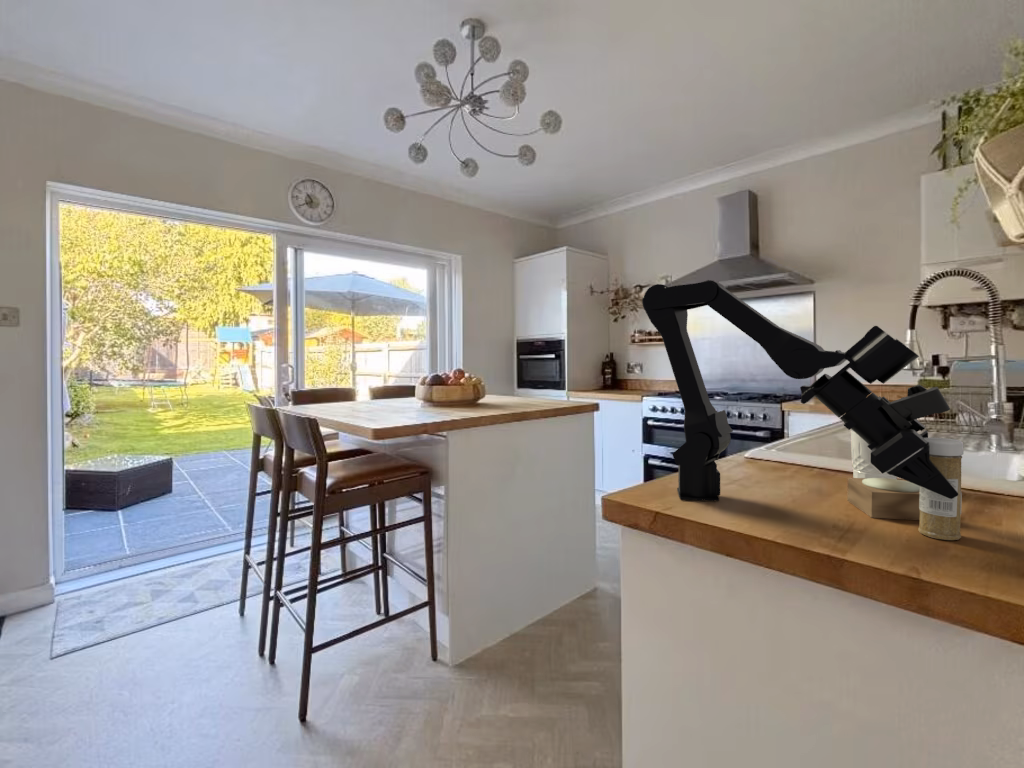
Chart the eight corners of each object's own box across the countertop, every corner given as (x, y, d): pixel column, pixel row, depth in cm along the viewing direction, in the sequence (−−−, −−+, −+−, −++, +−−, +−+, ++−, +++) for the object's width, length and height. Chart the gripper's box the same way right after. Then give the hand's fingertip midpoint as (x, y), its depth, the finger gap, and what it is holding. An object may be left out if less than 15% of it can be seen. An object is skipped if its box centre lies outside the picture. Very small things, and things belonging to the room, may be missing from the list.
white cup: (850, 476, 100) (850, 427, 100) (899, 481, 96) (900, 430, 95) (849, 484, 94) (850, 433, 93) (901, 490, 89) (902, 436, 89)
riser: (871, 517, 75) (871, 490, 75) (847, 500, 84) (847, 475, 84) (940, 521, 73) (941, 492, 73) (908, 503, 82) (909, 478, 82)
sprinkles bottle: (965, 536, 67) (968, 439, 66) (954, 544, 65) (957, 443, 64) (924, 527, 71) (926, 435, 70) (911, 534, 68) (914, 438, 68)
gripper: (904, 369, 62) (1027, 466, 55) (906, 365, 76) (1004, 441, 70) (829, 426, 67) (933, 521, 61) (845, 412, 82) (930, 487, 75)
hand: (953, 489), depth 67 cm, fingers open, 8 cm apart
